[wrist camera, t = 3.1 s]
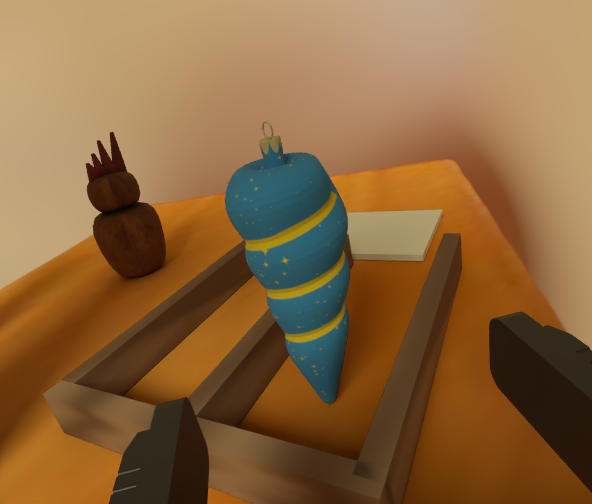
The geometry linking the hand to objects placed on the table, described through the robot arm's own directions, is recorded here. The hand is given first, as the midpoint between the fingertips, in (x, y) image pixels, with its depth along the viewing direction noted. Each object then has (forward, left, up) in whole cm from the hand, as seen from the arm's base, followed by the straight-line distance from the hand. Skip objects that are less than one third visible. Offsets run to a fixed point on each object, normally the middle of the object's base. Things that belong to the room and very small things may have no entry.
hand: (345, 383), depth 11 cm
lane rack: (-10, +13, -9) cm, 18 cm away
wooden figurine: (-33, +21, -9) cm, 40 cm away
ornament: (-5, +8, -9) cm, 13 cm away
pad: (-10, +30, -9) cm, 33 cm away
